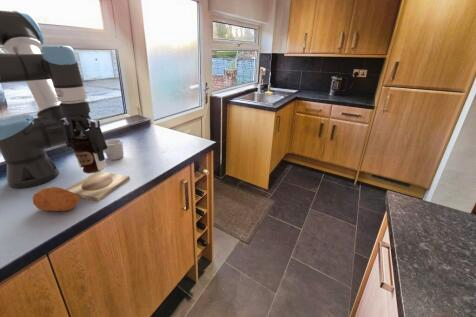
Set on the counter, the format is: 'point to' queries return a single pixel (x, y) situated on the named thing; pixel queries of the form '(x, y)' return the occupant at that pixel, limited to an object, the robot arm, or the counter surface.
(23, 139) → the robot arm
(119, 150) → the cup
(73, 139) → the coffee cup
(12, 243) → the counter surface
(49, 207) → the potato
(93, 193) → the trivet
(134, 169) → the counter surface
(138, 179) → the counter surface
